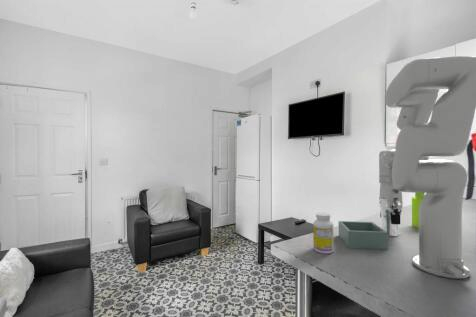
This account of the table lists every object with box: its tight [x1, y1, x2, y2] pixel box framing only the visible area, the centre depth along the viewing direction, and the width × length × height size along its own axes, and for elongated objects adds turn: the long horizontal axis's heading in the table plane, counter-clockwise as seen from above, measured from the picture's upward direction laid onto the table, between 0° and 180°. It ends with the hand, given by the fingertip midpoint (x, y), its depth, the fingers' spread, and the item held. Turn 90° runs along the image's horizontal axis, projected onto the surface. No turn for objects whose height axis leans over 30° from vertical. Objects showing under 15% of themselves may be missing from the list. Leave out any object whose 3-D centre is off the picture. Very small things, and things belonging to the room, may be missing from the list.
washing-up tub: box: [338, 220, 389, 251], centre depth 89 cm, size 13×13×6 cm
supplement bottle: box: [312, 212, 335, 255], centre depth 82 cm, size 7×7×13 cm
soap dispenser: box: [411, 193, 426, 229], centre depth 107 cm, size 6×7×20 cm
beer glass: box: [379, 197, 400, 237], centre depth 98 cm, size 7×7×15 cm
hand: (389, 220), depth 98 cm, fingers open, 9 cm apart
